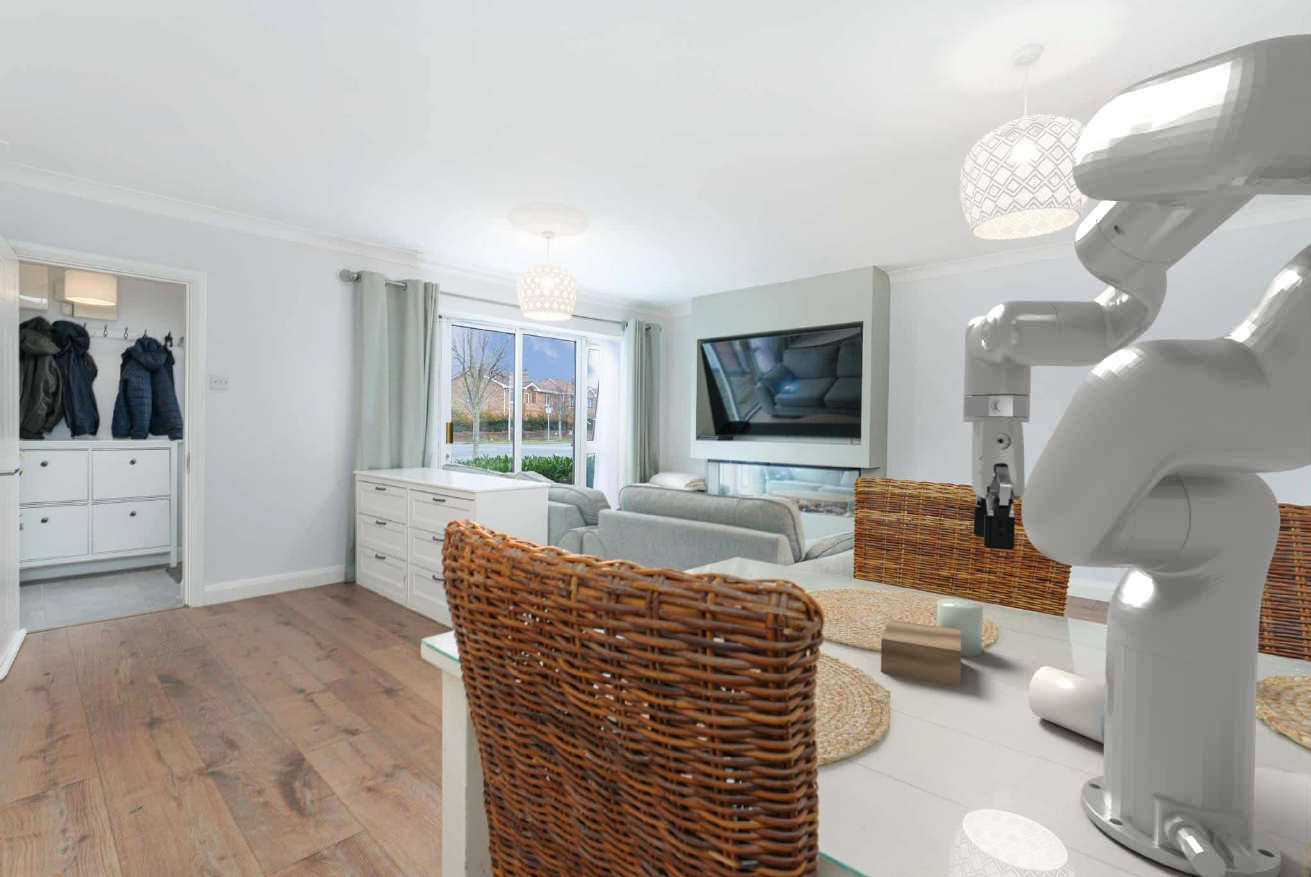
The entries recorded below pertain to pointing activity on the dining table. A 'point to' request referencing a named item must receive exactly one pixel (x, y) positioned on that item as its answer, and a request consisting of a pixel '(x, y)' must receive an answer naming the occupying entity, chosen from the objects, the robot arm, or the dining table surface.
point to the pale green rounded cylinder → (962, 622)
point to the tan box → (922, 652)
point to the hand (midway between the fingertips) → (992, 542)
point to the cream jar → (1068, 701)
